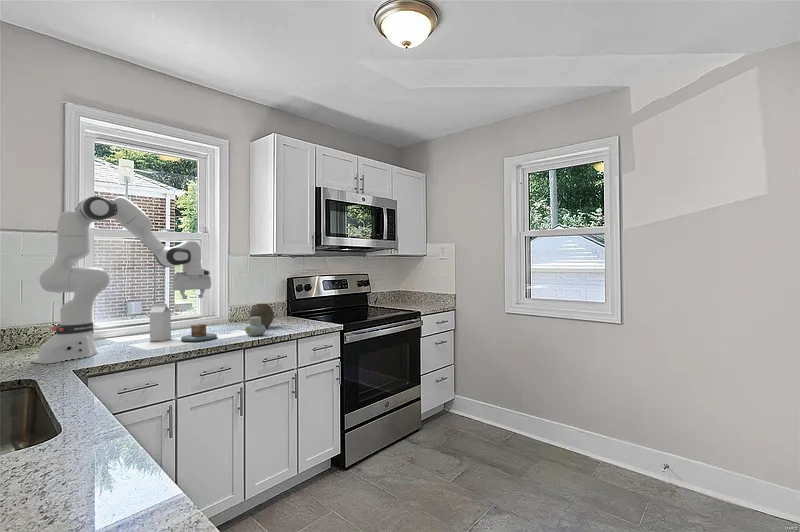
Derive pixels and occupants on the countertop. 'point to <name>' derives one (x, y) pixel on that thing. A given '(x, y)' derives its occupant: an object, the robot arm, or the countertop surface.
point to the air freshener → (255, 327)
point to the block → (198, 330)
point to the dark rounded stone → (263, 313)
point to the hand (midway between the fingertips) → (192, 298)
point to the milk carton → (160, 322)
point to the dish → (190, 338)
